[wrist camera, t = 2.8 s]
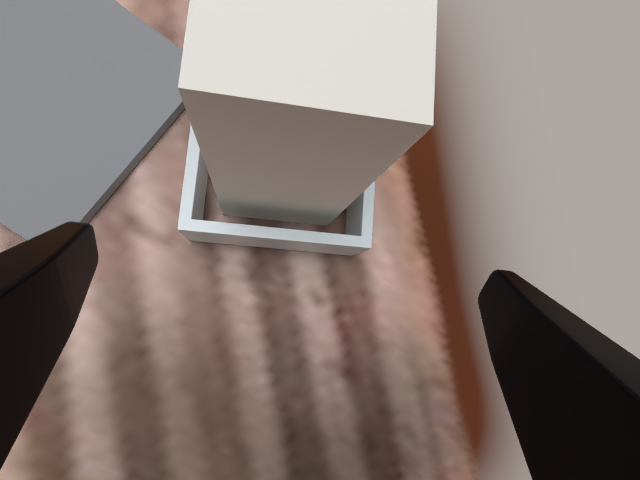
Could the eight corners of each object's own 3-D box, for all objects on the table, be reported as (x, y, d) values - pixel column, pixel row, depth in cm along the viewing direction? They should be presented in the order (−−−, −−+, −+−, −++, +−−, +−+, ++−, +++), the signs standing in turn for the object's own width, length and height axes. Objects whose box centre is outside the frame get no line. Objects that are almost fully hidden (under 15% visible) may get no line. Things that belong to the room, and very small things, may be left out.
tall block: (327, 225, 22) (433, 125, 9) (223, 215, 21) (177, 87, 8) (334, 129, 22) (439, -87, 10) (234, 115, 22) (208, -141, 9)
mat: (58, 257, 19) (50, 256, 18) (-163, 109, 19) (-181, 101, 18) (211, 77, 22) (209, 69, 21) (21, -60, 21) (12, -73, 20)
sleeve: (352, 255, 22) (371, 248, 18) (190, 240, 20) (177, 229, 17) (361, 108, 23) (380, 75, 19) (209, 85, 22) (201, 46, 18)
